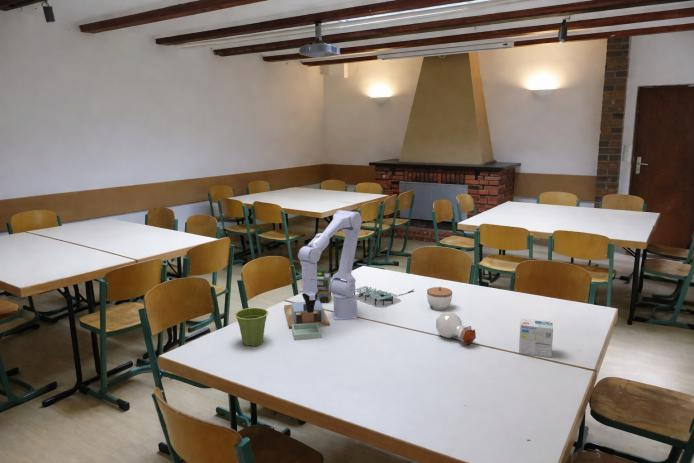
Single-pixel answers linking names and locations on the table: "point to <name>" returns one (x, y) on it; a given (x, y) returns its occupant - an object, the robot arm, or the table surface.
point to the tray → (306, 331)
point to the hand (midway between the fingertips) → (310, 312)
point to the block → (307, 317)
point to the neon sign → (376, 297)
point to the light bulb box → (536, 337)
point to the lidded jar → (439, 297)
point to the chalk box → (323, 286)
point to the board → (298, 317)
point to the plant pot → (252, 325)
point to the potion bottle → (454, 328)
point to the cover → (301, 307)
